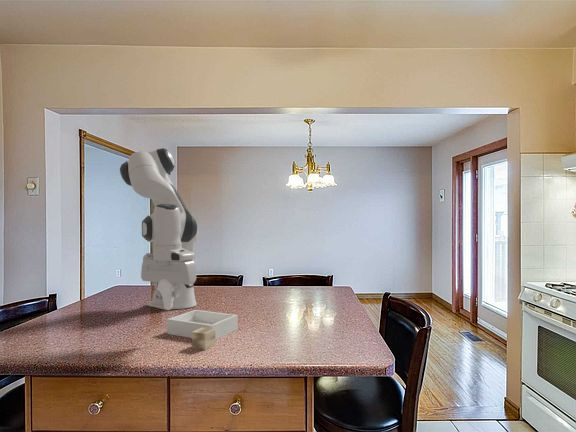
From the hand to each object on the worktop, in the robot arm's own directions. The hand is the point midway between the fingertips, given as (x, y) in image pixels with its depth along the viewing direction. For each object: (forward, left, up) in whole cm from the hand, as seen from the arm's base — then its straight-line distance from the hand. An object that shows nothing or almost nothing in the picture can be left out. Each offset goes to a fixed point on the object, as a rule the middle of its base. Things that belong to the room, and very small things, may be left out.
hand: (168, 296), depth 123 cm
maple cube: (+14, 0, -14) cm, 20 cm away
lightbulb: (0, 0, -5) cm, 5 cm away
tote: (+4, +13, -14) cm, 20 cm away
